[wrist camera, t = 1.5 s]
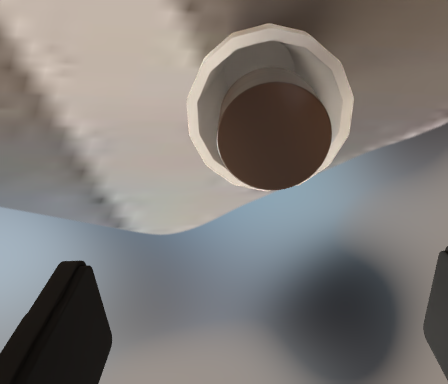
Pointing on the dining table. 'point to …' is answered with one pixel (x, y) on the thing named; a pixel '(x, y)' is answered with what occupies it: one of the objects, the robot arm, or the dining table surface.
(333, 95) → the foam cup
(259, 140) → the walnut chip
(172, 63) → the dining table surface
